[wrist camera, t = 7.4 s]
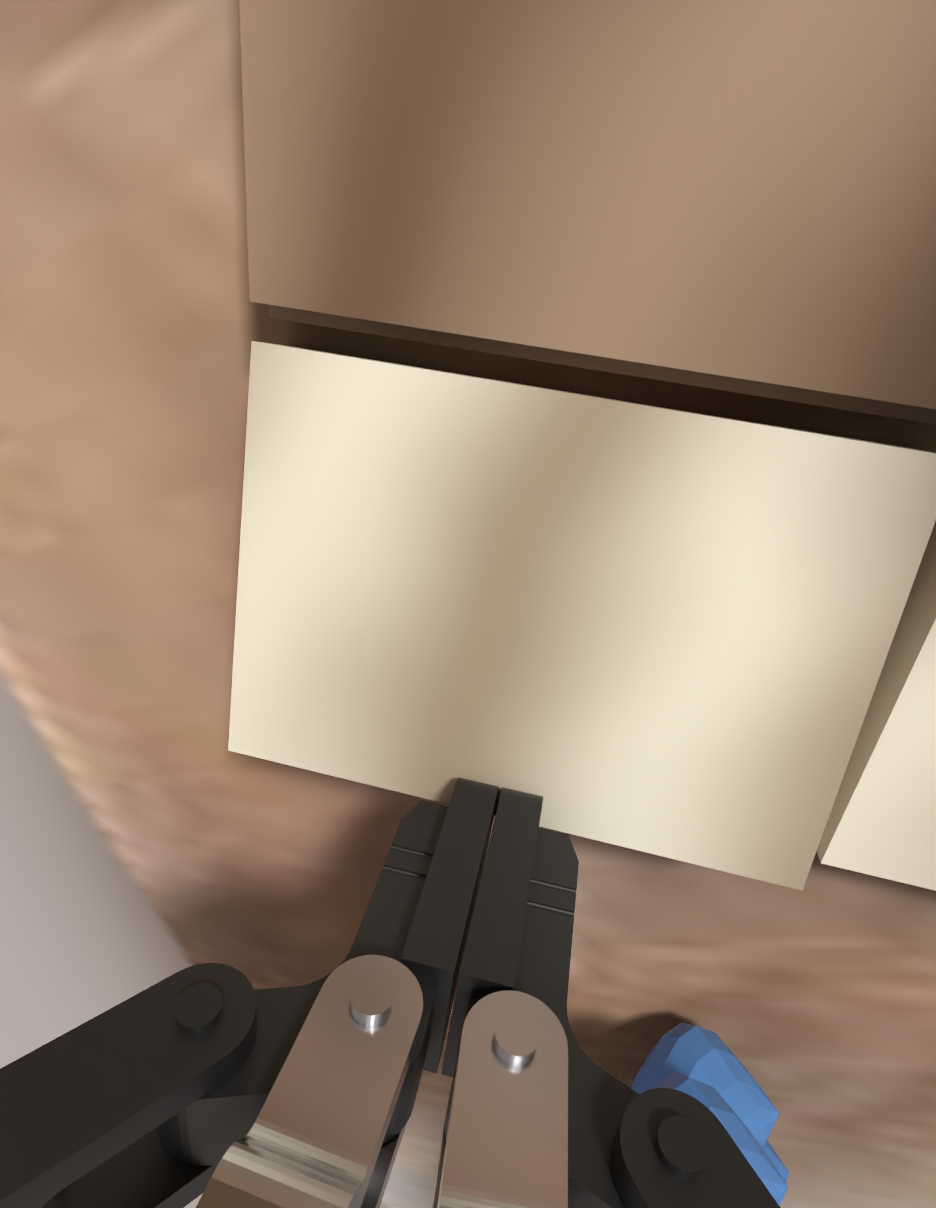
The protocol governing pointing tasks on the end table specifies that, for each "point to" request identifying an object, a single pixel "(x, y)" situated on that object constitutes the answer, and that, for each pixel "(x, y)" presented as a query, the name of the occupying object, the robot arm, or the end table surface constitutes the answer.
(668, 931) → the end table surface
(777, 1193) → the grapes
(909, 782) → the plank
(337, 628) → the plank
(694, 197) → the laid plank
